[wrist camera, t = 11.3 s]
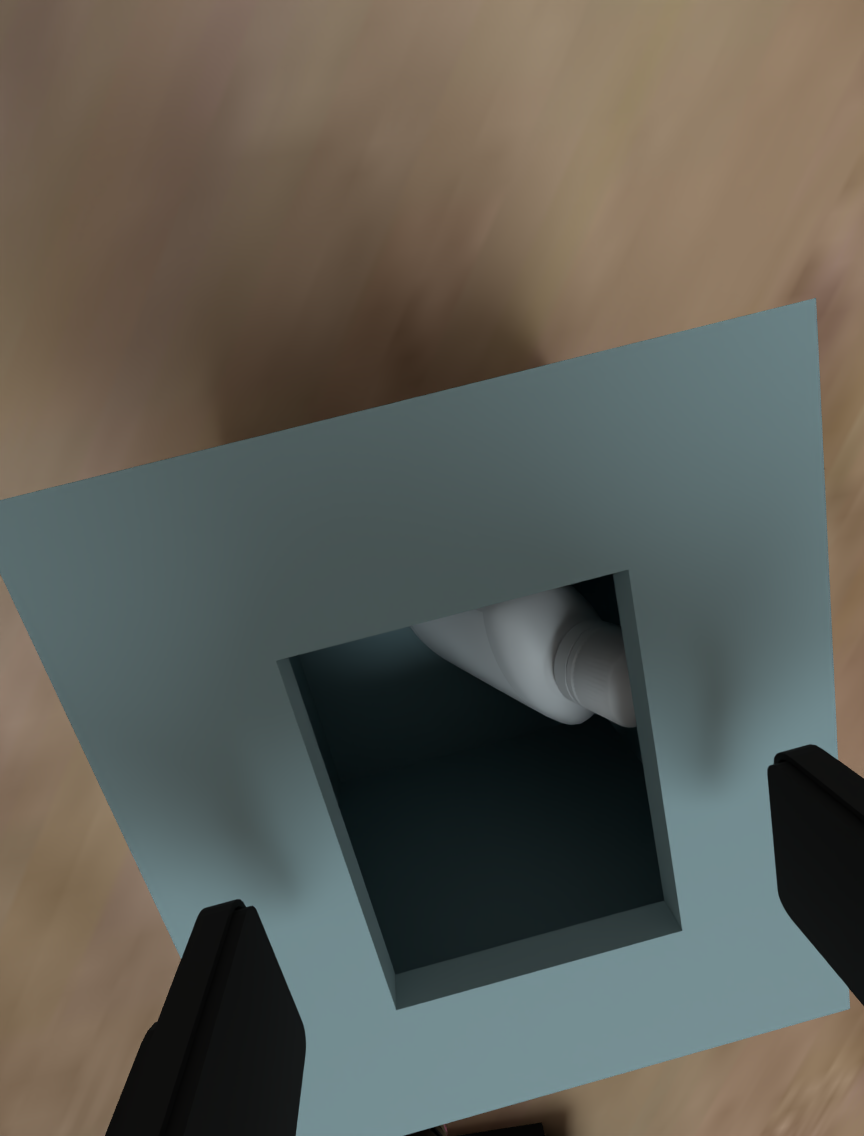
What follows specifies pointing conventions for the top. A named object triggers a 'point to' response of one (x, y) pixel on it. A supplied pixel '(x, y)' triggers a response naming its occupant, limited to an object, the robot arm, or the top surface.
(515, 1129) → the game console
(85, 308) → the top surface
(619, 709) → the eye dropper bottle
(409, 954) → the drop box
